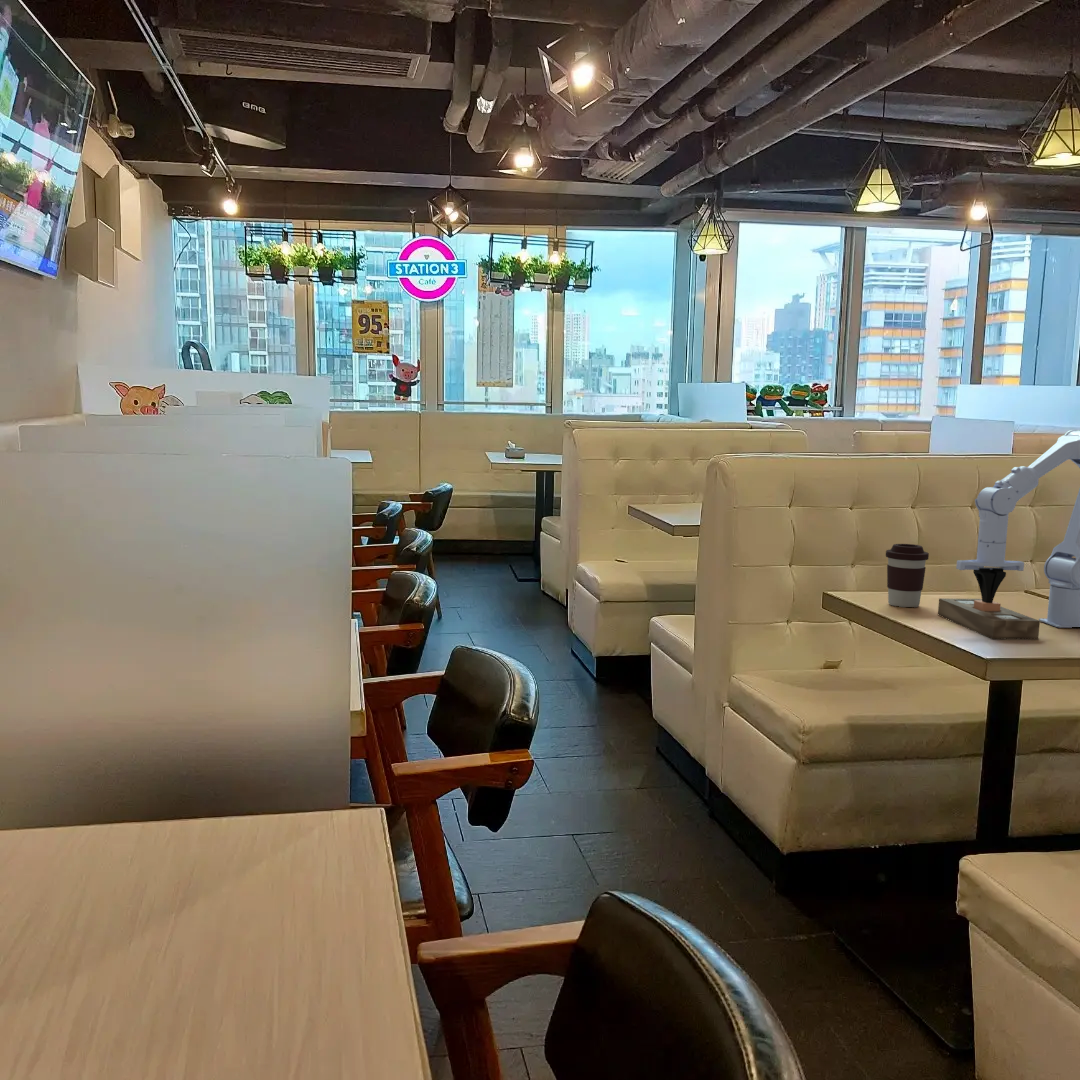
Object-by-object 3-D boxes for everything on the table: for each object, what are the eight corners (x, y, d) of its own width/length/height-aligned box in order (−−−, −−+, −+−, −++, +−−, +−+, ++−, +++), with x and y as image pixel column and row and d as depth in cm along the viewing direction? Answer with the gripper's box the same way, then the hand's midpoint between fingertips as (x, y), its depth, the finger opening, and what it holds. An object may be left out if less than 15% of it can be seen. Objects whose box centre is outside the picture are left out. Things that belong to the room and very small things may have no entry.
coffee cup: (898, 609, 241) (902, 548, 240) (874, 602, 251) (878, 542, 249) (933, 608, 244) (938, 547, 242) (908, 601, 254) (912, 542, 252)
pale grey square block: (1009, 629, 217) (1010, 615, 217) (1019, 633, 213) (1020, 619, 213) (992, 628, 217) (993, 615, 217) (1001, 633, 213) (1002, 619, 213)
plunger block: (978, 615, 237) (980, 598, 236) (1038, 639, 212) (1039, 620, 211) (937, 615, 236) (939, 598, 235) (992, 639, 211) (994, 620, 211)
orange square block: (990, 613, 226) (991, 600, 225) (999, 617, 222) (1000, 603, 221) (973, 613, 225) (974, 600, 225) (982, 616, 221) (983, 603, 221)
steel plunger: (970, 613, 234) (971, 600, 234) (979, 616, 230) (980, 604, 230) (954, 613, 234) (955, 600, 234) (962, 616, 230) (963, 603, 230)
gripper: (1013, 539, 226) (1008, 598, 228) (951, 538, 225) (947, 598, 227) (1031, 543, 219) (1026, 604, 221) (967, 543, 218) (962, 604, 220)
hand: (987, 602), depth 223 cm, fingers closed, pressing on orange square block
